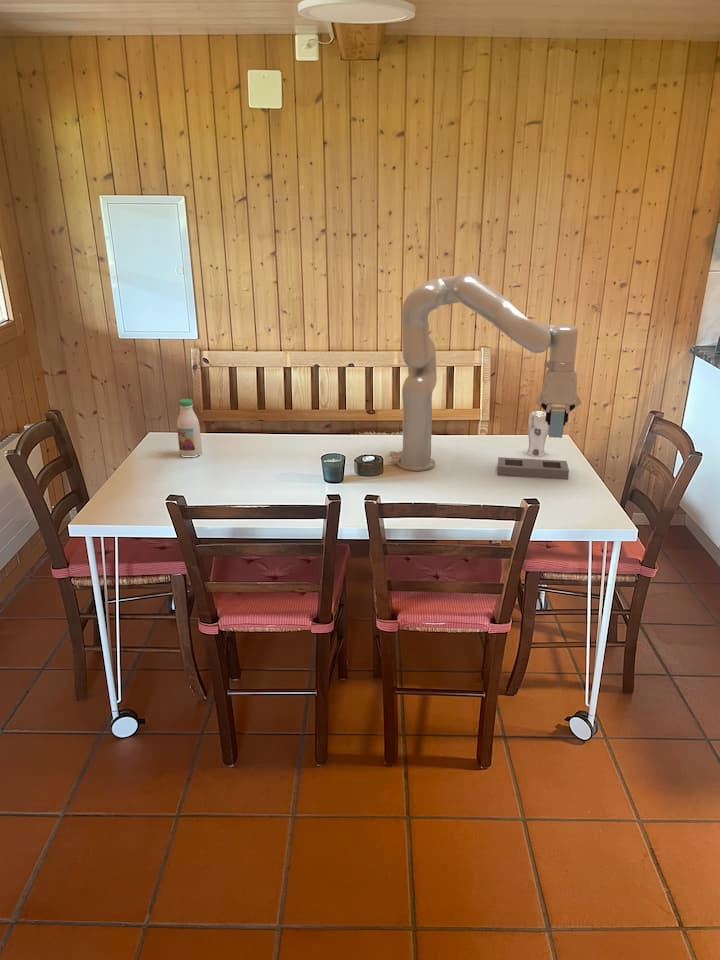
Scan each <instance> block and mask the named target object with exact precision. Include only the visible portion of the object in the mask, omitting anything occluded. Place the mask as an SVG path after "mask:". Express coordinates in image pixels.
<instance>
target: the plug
mask: <svg viewBox="0 0 720 960" xmlns="http://www.w3.org/2000/svg"><path fill="white" fill-rule="evenodd" d="M550 410H551V419H550V425H549V428H548V433H547V435H548V437H549V438H554V439H555V438H558V439H559V438H560V439H562V438H563V432H564V426H563V424H564V414H565V406H555V405H551V409H550Z"/></svg>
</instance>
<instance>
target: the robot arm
mask: <svg viewBox="0 0 720 960" xmlns="http://www.w3.org/2000/svg"><path fill="white" fill-rule="evenodd" d="M456 303H457V304H458V303H461V304H462V305H464V306H465V307H467V308H468V309H470V310H471V311H473V312H474V313H476V314H478V315H479V316H480V317H481V318H483V319H485V320H487V321H488V322H490V324H492V325H493V326H494V327H495V328H496V329H498V330H499V331H501V333H503V334H505V335H506V336H507V337H508V338H509V339H511V340H513V341H514V342H516V343H517V344H518V345H520V346H521V347H523V348H524V349H526V350H527V351H529V352H531V353H535V354H541V353H545V351H547V350H548V349H550V352H549V359H548V361H547V362H544V363H543V368H547V369H546V371H545V375H544V379H543V385H542V390H541V392H540V393H539V395H538V397H536V399H535V402H534V403H536V404H537V405H539V406H540V407H541V408H542V409H543V411H544V412H546V420H545V421H546V422H547V423H548V425H550V419H551V410H550V409H551V406H553V405H562V406H563V405H564V409H565V414H564V424H563V427H564V426H566V423H568V421H569V414H570V412H572V411H573V410H574V409H575V408H578V406H581V405H582V401H581V399H580V397H579V396H578V373H577V371H576V370H575V364H576V355H577V354H576V353H577V347H578V346H577V344H578V336H579V335H578V333H579V331H578V328H577V327H576V326H574V325H570V324H558V325H554V324H548V323H543V322H542V323H541V322H538V323H537V322H536V323H535V322H533V320H531V319H529V318H528V317H526V315H524V314H523V313H521V312H520V311H519V310H518V309H517V308H516V306H515V305H514V303H513V302H512V301H511V300H510V299H508V298H507V297H506V296H505V295H503V294H501V293H500V292H498V291H496V289H494V288H492V287H491V286H489V285H488V284H486V283H485V282H483V280H482V278H481V277H480V276H479V275H478V274H477V273H474V272H466V273H461V274H456V275H451V276H445V277H439V278H433V279H431V280H428V281H426V282H425V283H422V284H421V285H419V286H417V287H416V288H415V289H414V290H412V291H411V292H410V293H409V294H408V295H407V296H406V298H405V299H404V301H403V304H402V306H401V308H402V309H401V314H400V315H401V316H400V317H401V342H402V345H401V346H402V359H403V363H404V364H405V365H406V366H407V372H408V373H407V374H408V375H407V377H406V378H405V380H404V381H403V383H402V388H401V389H402V390H401V395H402V396H401V397H402V398H401V399H402V450H398V451H395V450H394V451H393V450H392V451H391V450H390V451H389V457H390V458H392V460H397V466H398V467H400V468H401V469H403V470H406V471H413V472H420V471H421V472H423V471H429V470H431V469H433V468H435V467H436V460H435V459H434V458H433V457H432V454H431V453H432V429H433V426H432V425H433V401H432V400H433V391H434V390H435V388H436V385H437V377H438V376H437V356H436V355H437V353H436V352H437V351H436V347H435V343H434V341H433V340H432V339H431V337H430V332H429V330H430V327H429V326H430V325H429V323H430V322H429V315H430V313H431V312H432V311H435V310H437V309H438V308H439V307H441V306H445V305H450V304H451V305H453V304H456Z"/></svg>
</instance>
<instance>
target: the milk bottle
mask: <svg viewBox="0 0 720 960" xmlns="http://www.w3.org/2000/svg"><path fill="white" fill-rule="evenodd" d="M178 405H179V408H180V409H179V414H178V416H177V420H176V427H177V428H176V431H177V439H178V450H179V454H181V455H183V456H195V455H199V454H201V453H202V454H203V447H202V438H201V427H200V426H201V425H200V422H199V421H200V420H199V419H198V417H197V415H196V413H195V411H194V408H193V406H194V405H193V399H191V398H183V399H182V398H181V399H179V401H178ZM202 454H201V455H202ZM181 455H180V456H181Z"/></svg>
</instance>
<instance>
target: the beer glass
mask: <svg viewBox="0 0 720 960" xmlns="http://www.w3.org/2000/svg"><path fill="white" fill-rule="evenodd" d="M528 415H529V416H528V420H527V421H528V422H527V434H528V435H527V436H528V449H527V452H526V454H527V455H528V456H531V457H536V458H537V457H543V456H545V455H546V453H545V444H546V440H547V436H548V431H549V425H548V423H547V422H546V421H545V420H546V411H544V410H543V411H542V410H534V411H530V412H529V414H528Z"/></svg>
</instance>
